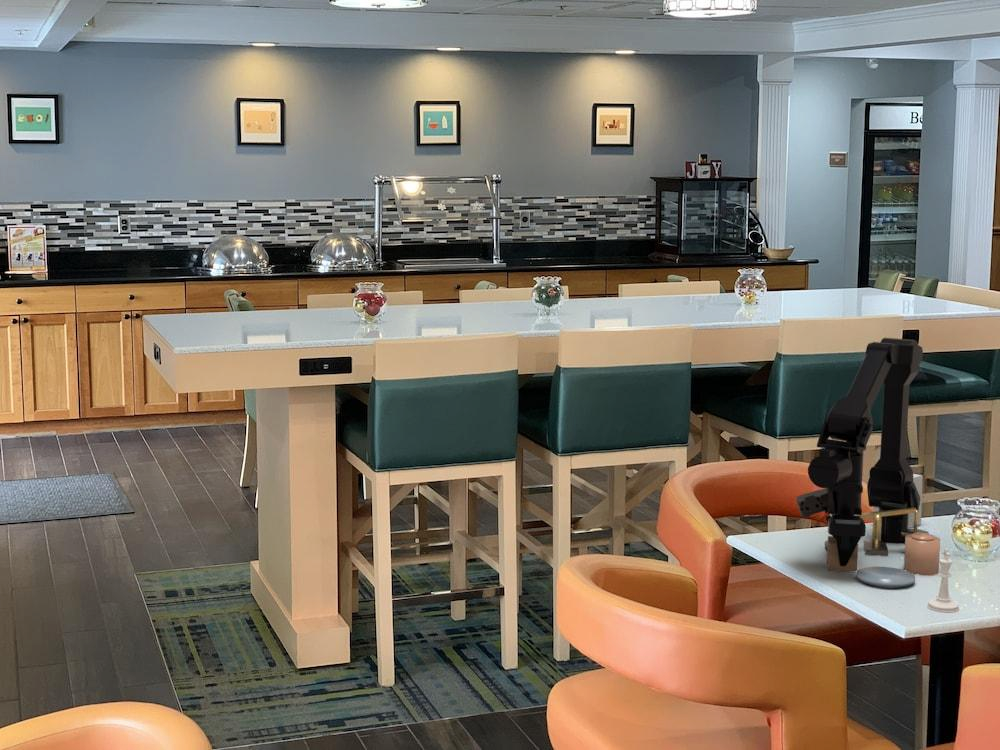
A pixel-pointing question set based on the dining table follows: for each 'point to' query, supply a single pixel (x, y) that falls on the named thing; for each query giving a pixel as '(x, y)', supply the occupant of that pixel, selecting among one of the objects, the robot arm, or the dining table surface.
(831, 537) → the walnut block
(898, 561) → the dining table surface
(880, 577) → the disc
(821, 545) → the dining table surface
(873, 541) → the balance
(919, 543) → the terracotta lidded jar
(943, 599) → the chess piece
